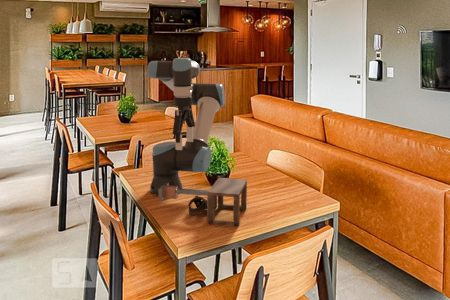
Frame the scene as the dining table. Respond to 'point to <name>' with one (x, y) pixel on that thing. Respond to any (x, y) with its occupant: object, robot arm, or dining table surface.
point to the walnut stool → (227, 189)
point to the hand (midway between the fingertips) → (184, 145)
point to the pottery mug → (197, 205)
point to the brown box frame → (173, 192)
